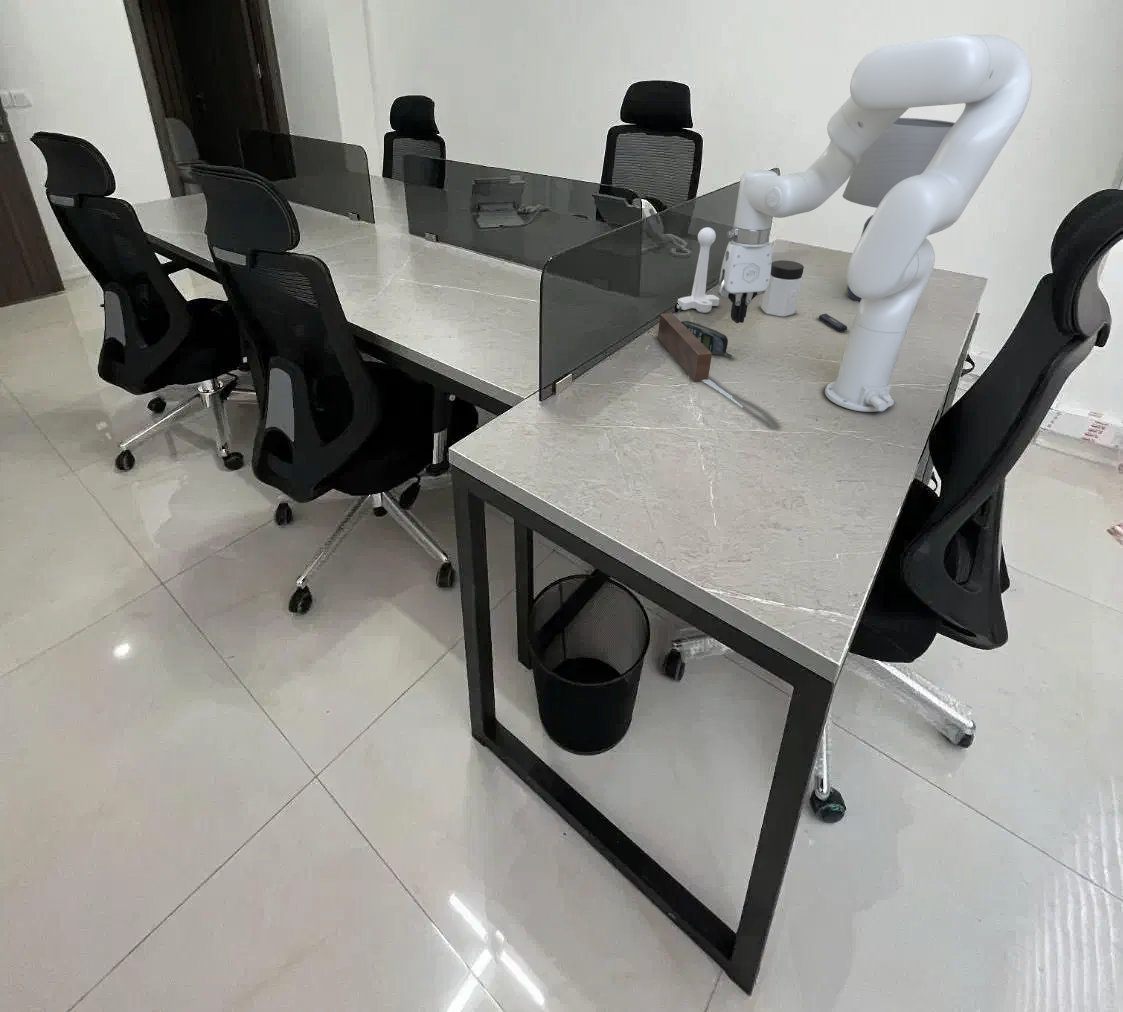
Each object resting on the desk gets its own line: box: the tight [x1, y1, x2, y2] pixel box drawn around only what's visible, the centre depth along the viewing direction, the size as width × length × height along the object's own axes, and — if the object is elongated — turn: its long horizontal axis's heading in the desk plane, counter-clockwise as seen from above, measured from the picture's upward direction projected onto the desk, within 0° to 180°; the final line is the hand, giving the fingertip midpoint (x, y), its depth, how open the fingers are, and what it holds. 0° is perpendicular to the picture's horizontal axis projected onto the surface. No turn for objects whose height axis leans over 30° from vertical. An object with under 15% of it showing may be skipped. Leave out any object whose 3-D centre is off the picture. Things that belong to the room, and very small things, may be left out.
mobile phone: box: [681, 320, 733, 358], centre depth 150 cm, size 5×3×15 cm
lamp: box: [842, 117, 955, 302], centre depth 171 cm, size 25×25×43 cm
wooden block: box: [657, 312, 713, 382], centre depth 145 cm, size 24×3×6 cm, turn 12°
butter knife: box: [700, 378, 744, 408], centre depth 132 cm, size 1×27×3 cm
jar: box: [760, 259, 805, 317], centre depth 170 cm, size 9×8×12 cm
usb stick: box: [818, 313, 848, 333], centre depth 165 cm, size 10×3×2 cm, turn 15°
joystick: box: [676, 226, 720, 314], centre depth 168 cm, size 11×8×20 cm
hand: (737, 320), depth 148 cm, fingers closed
